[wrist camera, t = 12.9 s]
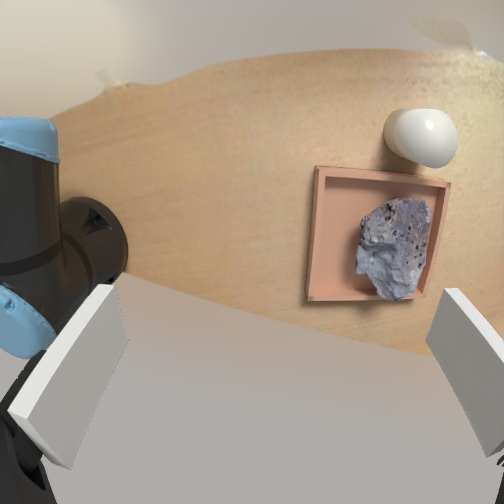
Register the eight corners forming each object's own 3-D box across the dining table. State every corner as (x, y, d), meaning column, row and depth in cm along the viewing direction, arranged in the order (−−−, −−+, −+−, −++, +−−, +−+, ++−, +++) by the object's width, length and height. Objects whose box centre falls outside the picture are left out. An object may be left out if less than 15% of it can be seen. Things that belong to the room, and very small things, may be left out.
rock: (403, 299, 43) (440, 304, 33) (344, 303, 43) (373, 311, 33) (399, 207, 44) (435, 192, 34) (341, 204, 43) (369, 187, 34)
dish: (305, 290, 46) (307, 300, 44) (315, 165, 39) (319, 169, 36) (417, 288, 46) (425, 298, 43) (440, 178, 38) (451, 182, 36)
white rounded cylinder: (381, 154, 38) (407, 164, 30) (384, 105, 35) (411, 103, 27) (424, 160, 37) (454, 171, 30) (427, 113, 35) (459, 115, 27)
